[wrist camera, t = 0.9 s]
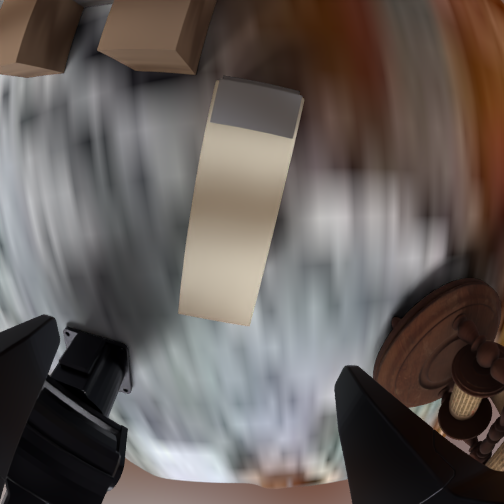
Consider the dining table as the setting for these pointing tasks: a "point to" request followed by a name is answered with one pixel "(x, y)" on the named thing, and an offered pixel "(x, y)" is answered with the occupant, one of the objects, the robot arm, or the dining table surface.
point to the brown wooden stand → (451, 363)
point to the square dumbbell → (104, 34)
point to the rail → (237, 197)
